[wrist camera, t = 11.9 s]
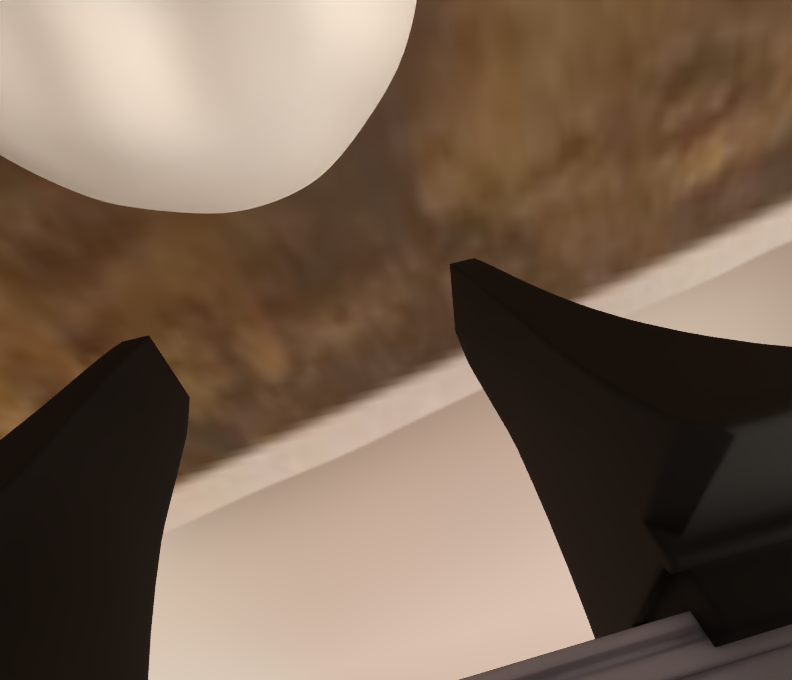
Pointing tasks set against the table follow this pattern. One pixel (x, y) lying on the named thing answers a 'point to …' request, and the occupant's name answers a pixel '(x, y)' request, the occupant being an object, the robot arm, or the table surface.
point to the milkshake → (192, 94)
